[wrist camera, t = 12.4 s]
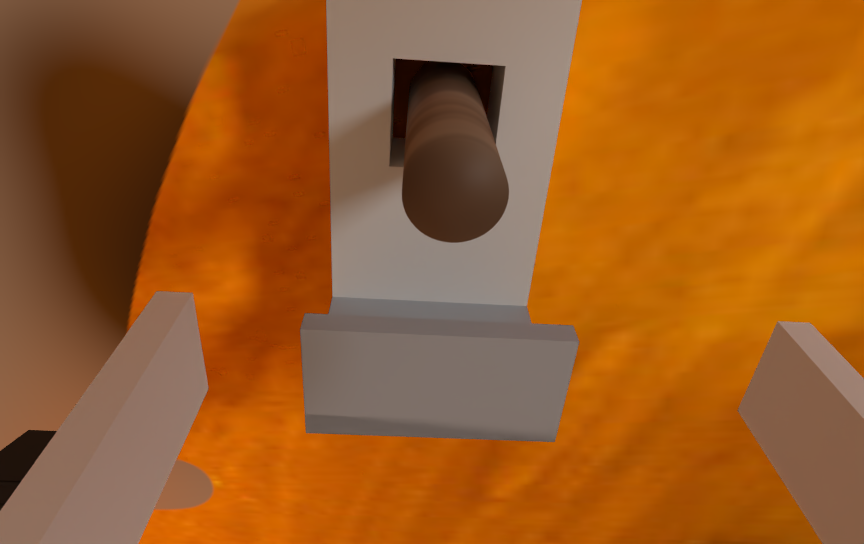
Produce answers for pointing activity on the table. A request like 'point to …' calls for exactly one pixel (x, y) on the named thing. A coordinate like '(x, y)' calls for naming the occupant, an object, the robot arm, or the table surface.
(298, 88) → the table surface
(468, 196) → the dowel
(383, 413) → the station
